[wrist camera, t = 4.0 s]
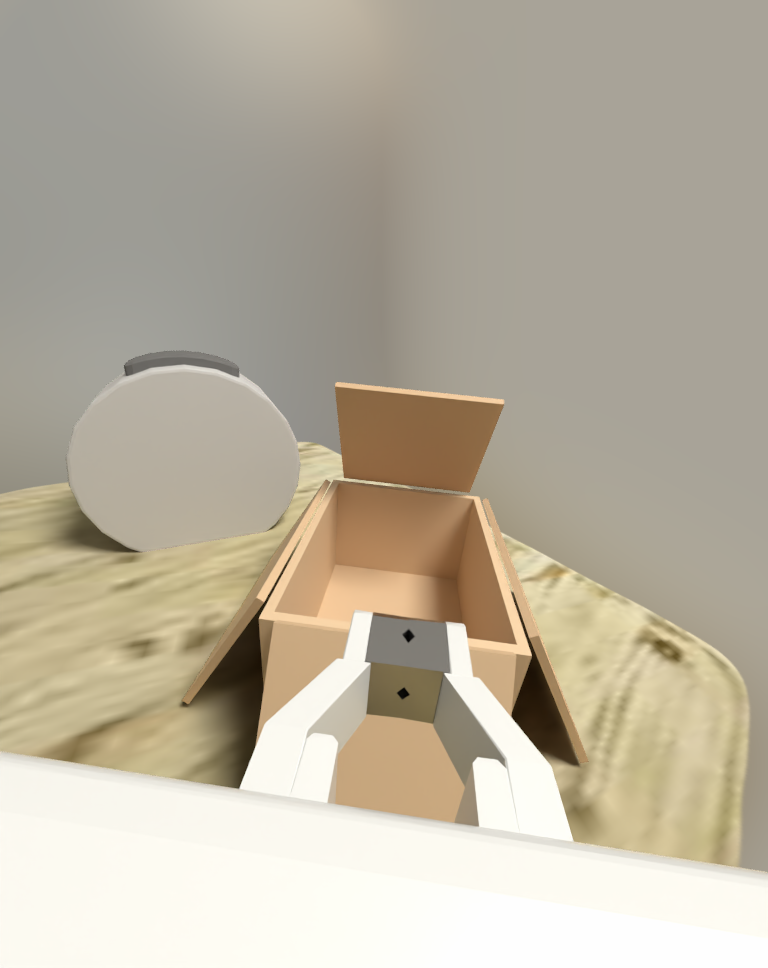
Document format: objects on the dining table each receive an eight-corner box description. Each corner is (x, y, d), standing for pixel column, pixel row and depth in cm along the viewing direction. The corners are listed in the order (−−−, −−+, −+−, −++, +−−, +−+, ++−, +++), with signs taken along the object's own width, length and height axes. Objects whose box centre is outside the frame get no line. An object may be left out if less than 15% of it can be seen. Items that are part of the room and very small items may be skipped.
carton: (649, 943, 17) (771, 825, 12) (97, 849, 18) (28, 711, 13) (518, 588, 38) (545, 500, 34) (275, 556, 40) (271, 468, 35)
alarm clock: (287, 499, 52) (283, 352, 44) (301, 525, 46) (300, 361, 38) (103, 523, 43) (54, 342, 34) (91, 560, 37) (27, 352, 28)
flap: (469, 492, 34) (504, 404, 25) (344, 477, 35) (335, 386, 26) (469, 488, 35) (503, 399, 26) (344, 473, 35) (336, 381, 26)
